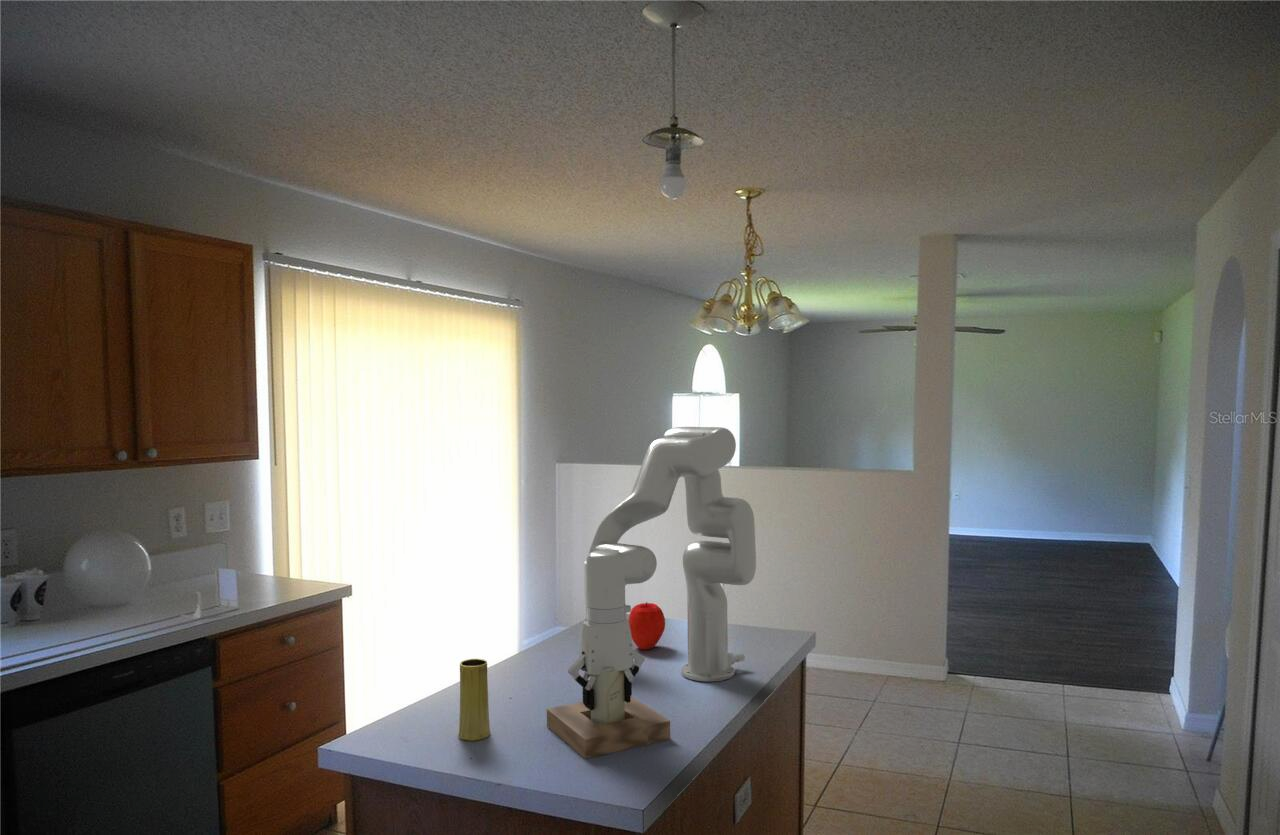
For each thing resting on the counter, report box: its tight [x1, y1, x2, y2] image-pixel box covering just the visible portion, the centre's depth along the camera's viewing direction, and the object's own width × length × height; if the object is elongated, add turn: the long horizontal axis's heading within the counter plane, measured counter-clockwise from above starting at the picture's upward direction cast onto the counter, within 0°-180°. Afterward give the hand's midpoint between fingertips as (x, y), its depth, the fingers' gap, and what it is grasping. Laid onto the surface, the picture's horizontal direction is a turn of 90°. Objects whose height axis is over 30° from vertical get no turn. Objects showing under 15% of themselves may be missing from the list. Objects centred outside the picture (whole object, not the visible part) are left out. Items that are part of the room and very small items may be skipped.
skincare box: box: [591, 667, 625, 725], centre depth 165 cm, size 6×4×12 cm
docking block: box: [546, 696, 671, 760], centre depth 165 cm, size 18×18×4 cm
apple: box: [628, 601, 666, 651], centre depth 222 cm, size 10×10×12 cm
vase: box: [457, 658, 491, 742], centre depth 164 cm, size 6×6×14 cm
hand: (607, 703), depth 165 cm, fingers closed on skincare box, 7 cm apart
